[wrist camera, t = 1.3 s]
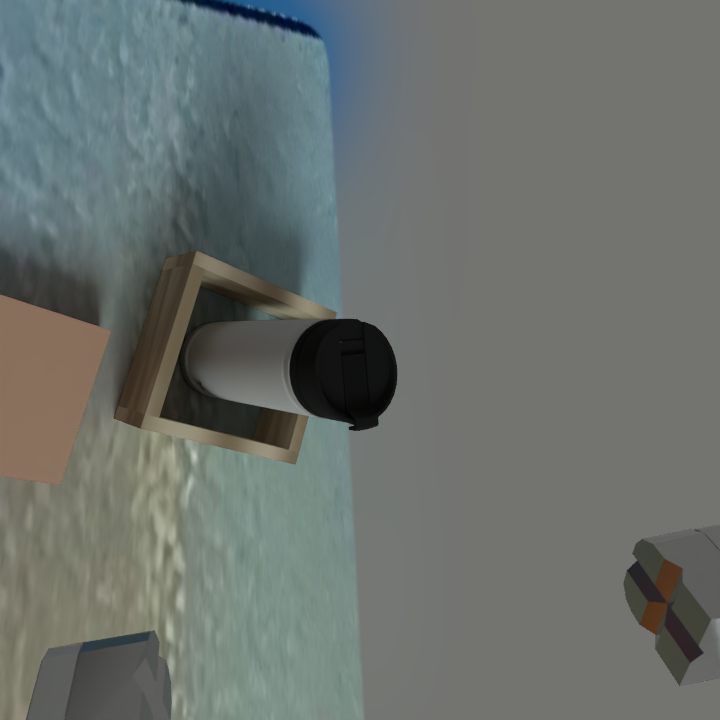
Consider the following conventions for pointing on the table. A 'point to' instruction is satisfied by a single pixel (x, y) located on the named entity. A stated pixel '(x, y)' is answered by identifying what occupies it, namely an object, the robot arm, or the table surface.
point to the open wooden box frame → (164, 340)
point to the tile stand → (43, 387)
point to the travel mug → (295, 367)
